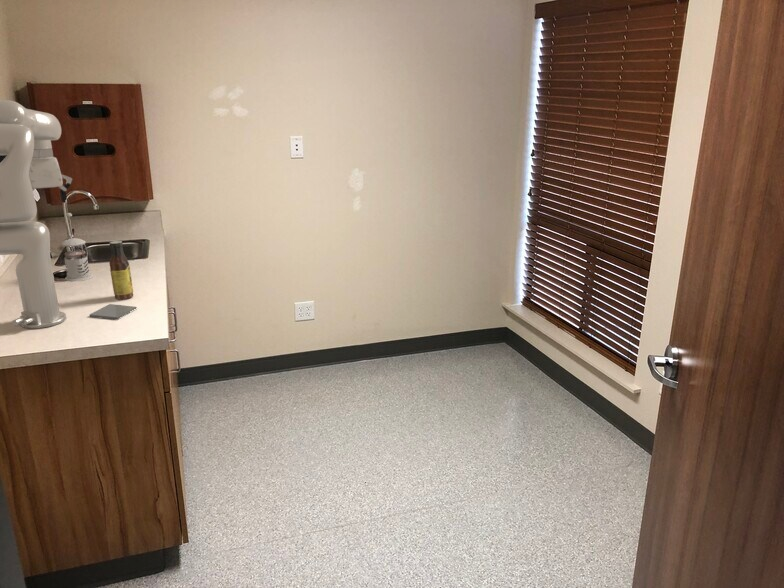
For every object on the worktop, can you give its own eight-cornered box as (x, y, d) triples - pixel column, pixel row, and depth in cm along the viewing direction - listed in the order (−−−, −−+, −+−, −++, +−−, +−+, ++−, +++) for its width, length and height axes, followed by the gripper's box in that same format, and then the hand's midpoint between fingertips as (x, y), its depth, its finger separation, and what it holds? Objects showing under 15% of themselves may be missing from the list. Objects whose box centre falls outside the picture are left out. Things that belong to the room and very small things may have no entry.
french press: (59, 281, 223) (47, 215, 215) (76, 271, 234) (66, 209, 226) (84, 281, 223) (74, 216, 215) (100, 272, 234) (91, 209, 226)
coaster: (117, 319, 189) (117, 317, 188) (89, 316, 190) (89, 314, 190) (136, 309, 198) (136, 306, 197) (110, 306, 200) (109, 303, 199)
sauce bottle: (137, 297, 208) (130, 242, 202) (119, 301, 204) (111, 245, 197) (128, 293, 212) (121, 238, 206) (111, 297, 208) (103, 241, 202)
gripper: (14, 156, 196) (23, 207, 202) (71, 153, 207) (78, 202, 213) (9, 154, 201) (18, 204, 207) (64, 151, 213) (72, 199, 218)
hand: (48, 203), depth 210 cm, fingers open, 9 cm apart
